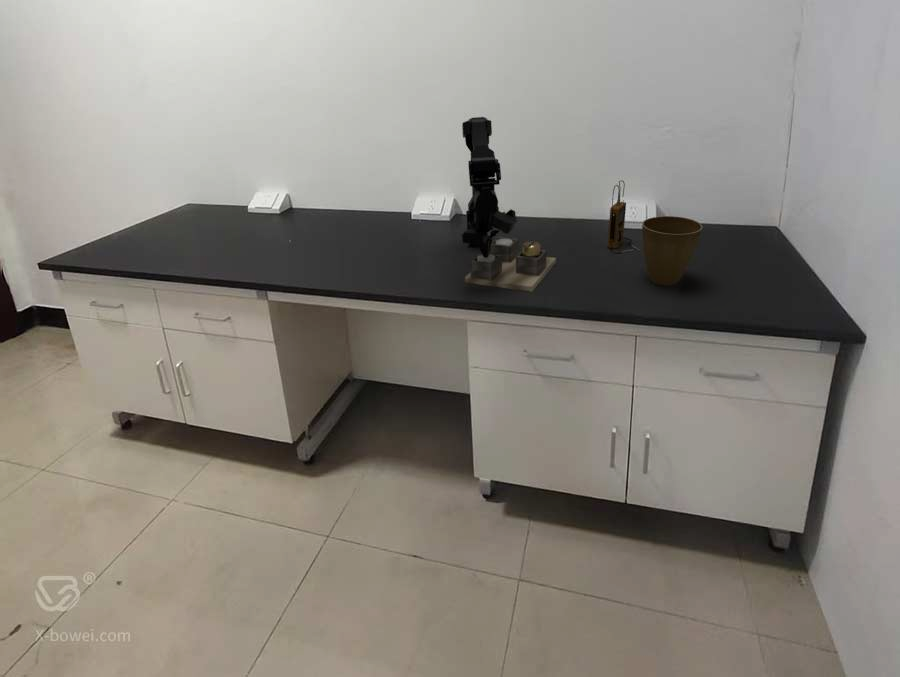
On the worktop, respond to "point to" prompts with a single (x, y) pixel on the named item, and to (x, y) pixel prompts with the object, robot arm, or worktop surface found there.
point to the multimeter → (617, 223)
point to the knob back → (504, 242)
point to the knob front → (488, 259)
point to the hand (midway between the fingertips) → (486, 257)
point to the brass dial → (531, 249)
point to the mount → (510, 268)
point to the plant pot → (669, 247)
